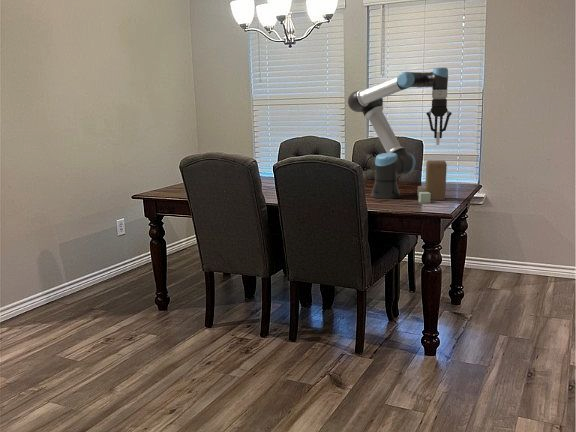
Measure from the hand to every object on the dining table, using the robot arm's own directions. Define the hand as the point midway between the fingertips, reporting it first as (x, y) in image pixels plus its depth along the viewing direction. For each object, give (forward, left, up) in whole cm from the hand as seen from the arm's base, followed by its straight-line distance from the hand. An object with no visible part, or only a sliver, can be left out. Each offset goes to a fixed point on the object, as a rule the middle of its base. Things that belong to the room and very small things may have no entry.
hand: (437, 144), depth 298 cm
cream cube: (-6, +9, -29) cm, 31 cm away
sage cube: (-6, -11, -29) cm, 31 cm away
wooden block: (0, -1, -29) cm, 29 cm away
